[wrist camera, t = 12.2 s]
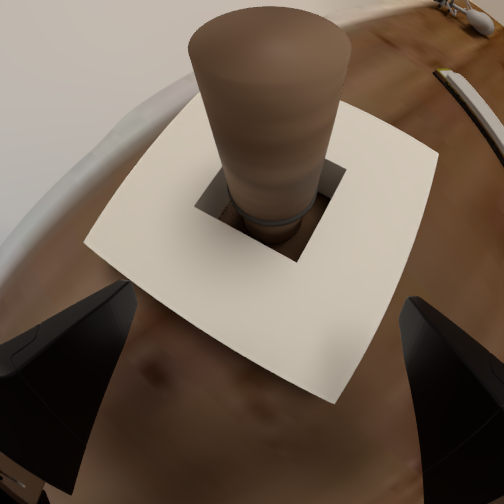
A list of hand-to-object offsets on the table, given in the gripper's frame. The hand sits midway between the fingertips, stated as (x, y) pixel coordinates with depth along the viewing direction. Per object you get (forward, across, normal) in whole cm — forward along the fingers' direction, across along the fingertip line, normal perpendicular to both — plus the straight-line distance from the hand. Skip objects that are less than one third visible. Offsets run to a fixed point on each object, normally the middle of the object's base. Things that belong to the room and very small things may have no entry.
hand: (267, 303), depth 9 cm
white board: (+10, 0, +1) cm, 11 cm away
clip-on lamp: (+44, -37, -32) cm, 65 cm away
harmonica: (+20, -22, -8) cm, 31 cm away
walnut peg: (+10, 0, +1) cm, 11 cm away
